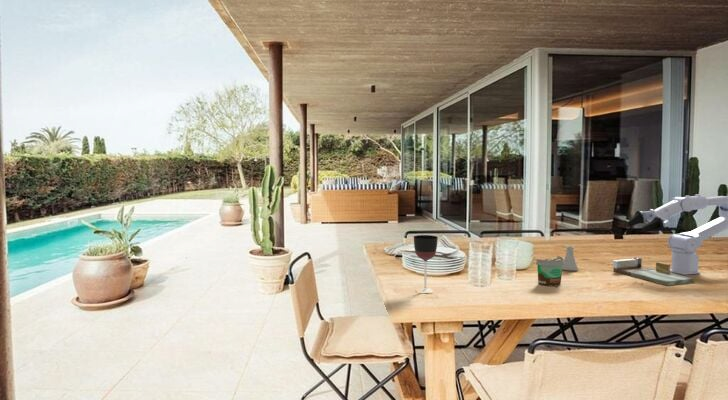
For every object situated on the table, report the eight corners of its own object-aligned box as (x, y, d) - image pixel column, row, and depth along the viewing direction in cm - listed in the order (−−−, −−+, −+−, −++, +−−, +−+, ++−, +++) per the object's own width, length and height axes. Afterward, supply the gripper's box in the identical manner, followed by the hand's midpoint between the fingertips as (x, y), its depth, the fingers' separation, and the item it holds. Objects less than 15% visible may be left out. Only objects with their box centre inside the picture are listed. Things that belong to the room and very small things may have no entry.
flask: (580, 271, 191) (581, 248, 190) (562, 271, 193) (563, 248, 192) (576, 267, 198) (576, 245, 198) (558, 267, 200) (559, 245, 199)
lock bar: (636, 265, 195) (637, 257, 194) (643, 266, 192) (643, 258, 192) (611, 267, 190) (612, 259, 190) (617, 269, 188) (618, 261, 187)
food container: (548, 288, 166) (549, 262, 165) (535, 284, 171) (536, 259, 170) (571, 284, 171) (572, 258, 170) (557, 280, 177) (558, 255, 176)
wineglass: (432, 295, 158) (432, 239, 156) (409, 292, 162) (409, 237, 161) (440, 290, 164) (441, 236, 163) (419, 286, 169) (419, 234, 167)
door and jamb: (638, 268, 196) (638, 257, 195) (693, 282, 173) (694, 269, 173) (613, 271, 192) (613, 259, 191) (666, 285, 169) (667, 272, 168)
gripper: (647, 200, 191) (620, 214, 190) (676, 209, 177) (647, 224, 176) (650, 214, 193) (623, 228, 192) (679, 224, 180) (651, 239, 178)
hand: (635, 227), depth 184 cm, fingers open, 7 cm apart
